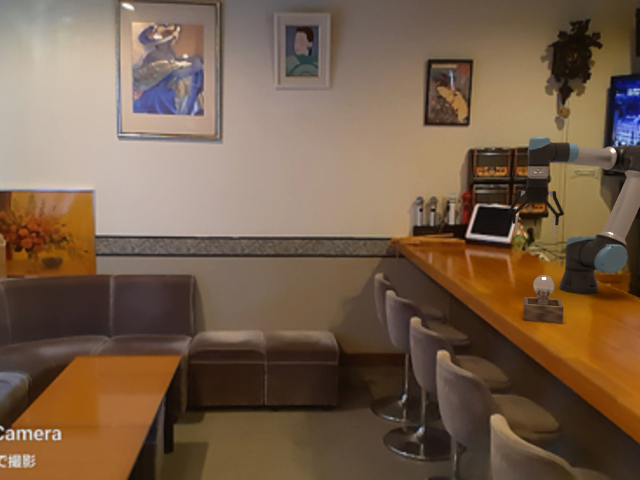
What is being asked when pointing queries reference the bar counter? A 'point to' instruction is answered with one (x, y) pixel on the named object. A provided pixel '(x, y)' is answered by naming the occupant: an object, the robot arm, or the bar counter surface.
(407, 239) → the bar counter surface
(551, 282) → the light bulb
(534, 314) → the walnut box
